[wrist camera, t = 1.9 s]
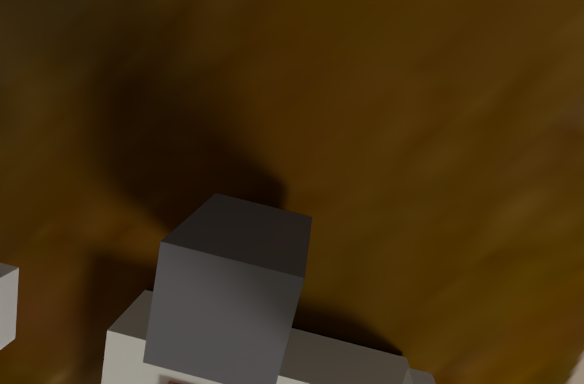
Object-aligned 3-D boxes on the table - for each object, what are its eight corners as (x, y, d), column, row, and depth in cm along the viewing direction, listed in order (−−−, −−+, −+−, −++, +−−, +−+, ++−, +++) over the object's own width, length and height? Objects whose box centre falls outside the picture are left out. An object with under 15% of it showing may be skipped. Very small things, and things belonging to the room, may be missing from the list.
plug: (223, 185, 20) (160, 241, 13) (313, 208, 20) (304, 278, 13) (208, 267, 22) (142, 362, 14) (292, 288, 22) (272, 397, 14)
